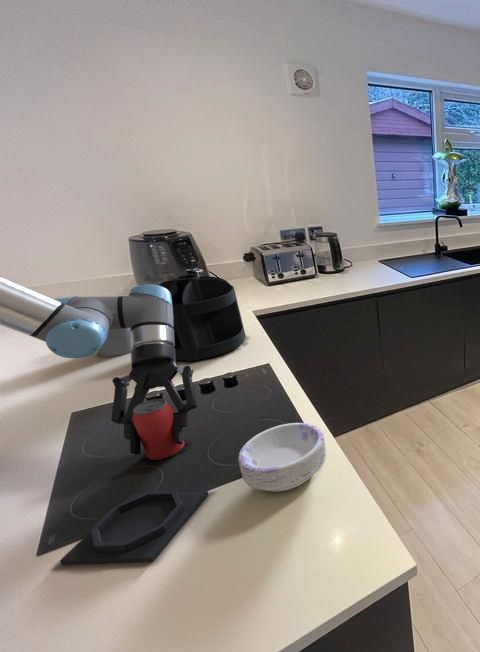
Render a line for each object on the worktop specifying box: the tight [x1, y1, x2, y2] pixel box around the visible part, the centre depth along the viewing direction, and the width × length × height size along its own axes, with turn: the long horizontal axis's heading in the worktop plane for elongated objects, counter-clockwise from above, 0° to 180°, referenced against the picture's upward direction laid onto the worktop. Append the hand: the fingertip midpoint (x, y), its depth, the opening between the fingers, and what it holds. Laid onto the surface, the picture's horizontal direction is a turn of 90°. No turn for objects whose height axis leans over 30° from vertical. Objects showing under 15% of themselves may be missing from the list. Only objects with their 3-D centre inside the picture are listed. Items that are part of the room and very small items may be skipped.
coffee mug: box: [96, 328, 133, 358], centre depth 129 cm, size 13×10×10 cm
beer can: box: [133, 398, 185, 461], centre depth 86 cm, size 7×7×12 cm
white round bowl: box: [237, 422, 327, 493], centre depth 82 cm, size 15×15×8 cm
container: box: [158, 273, 247, 362], centre depth 131 cm, size 22×23×25 cm
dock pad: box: [59, 490, 209, 566], centre depth 70 cm, size 14×14×2 cm
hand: (157, 447), depth 84 cm, fingers closed on beer can, 6 cm apart
